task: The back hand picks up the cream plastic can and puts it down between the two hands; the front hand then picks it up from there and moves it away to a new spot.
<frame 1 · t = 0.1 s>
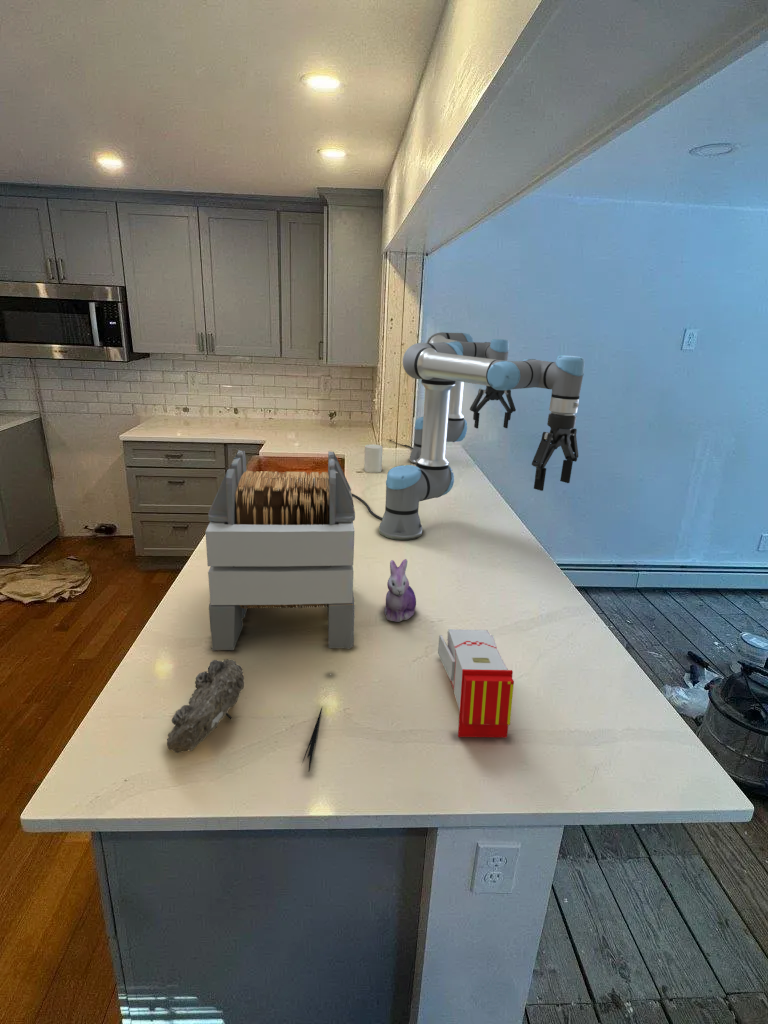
front hand: (551, 485, 166), 28 cm above the counter, tool pointing down, fingers open, 13 cm apart
back hand: (490, 427, 245), 28 cm above the counter, tool pointing down, fingers open, 13 cm apart
can: (372, 470, 276), on the counter
figurine: (399, 614, 147), on the counter
toy: (469, 691, 119), on the counter
feather: (319, 719, 109), on the counter
record crate: (286, 614, 145), on the counter
fossil: (212, 717, 108), on the counter
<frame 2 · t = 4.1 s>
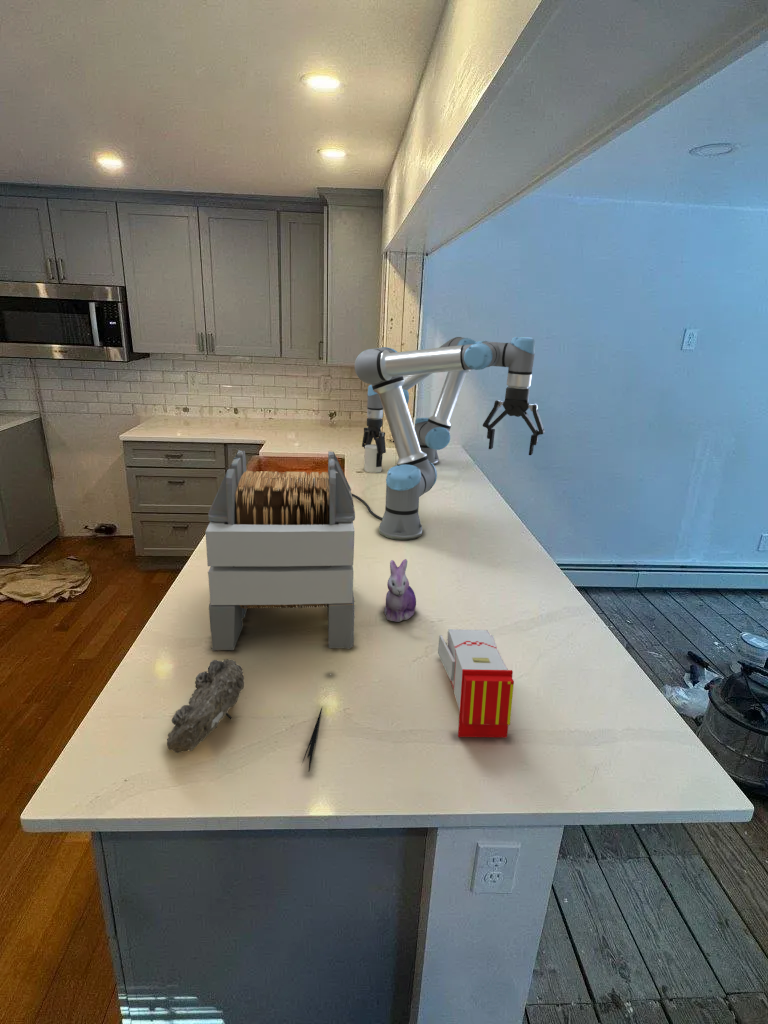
front hand: (510, 451, 190), 31 cm above the counter, tool pointing down, fingers open, 13 cm apart
back hand: (373, 464, 275), 3 cm above the counter, tool pointing down, fingers closed on can, 9 cm apart
can: (372, 470, 276), on the counter, touching back hand
everything else where it was.
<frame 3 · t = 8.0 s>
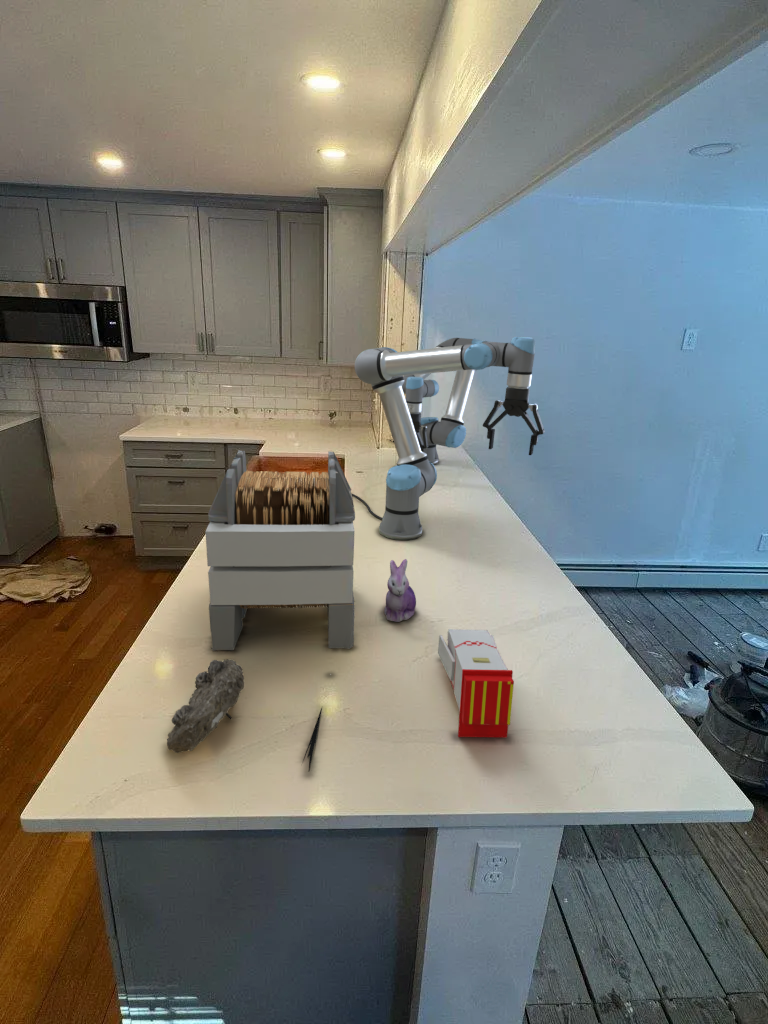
front hand: (510, 451, 190), 31 cm above the counter, tool pointing down, fingers open, 13 cm apart
back hand: (409, 461, 262), 9 cm above the counter, tool pointing down, fingers closed on can, 9 cm apart
can: (409, 467, 263), point 6 cm above the counter, touching back hand
everything else where it was.
when the back hand's fingers open (5 cm above the counter, at t = 11.9 s): can drops 2 cm, on the counter.
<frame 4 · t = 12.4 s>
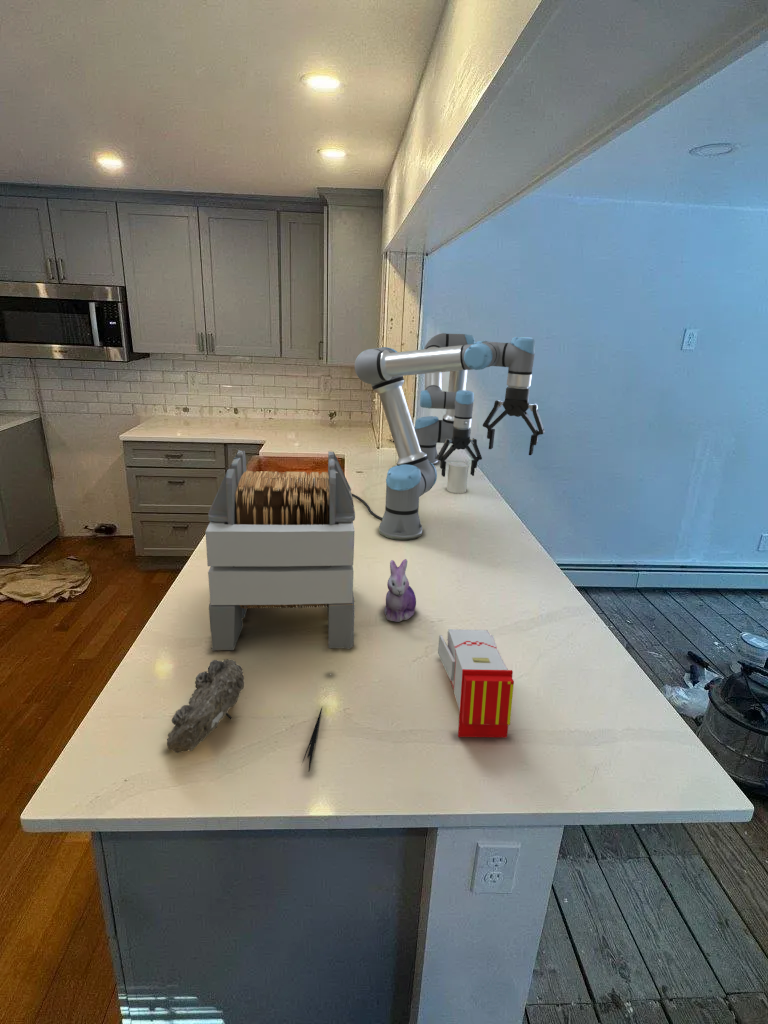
front hand: (510, 451, 190), 31 cm above the counter, tool pointing down, fingers open, 13 cm apart
back hand: (457, 475, 249), 7 cm above the counter, tool pointing down, fingers open, 13 cm apart
can: (456, 490, 251), on the counter
everything else where it was.
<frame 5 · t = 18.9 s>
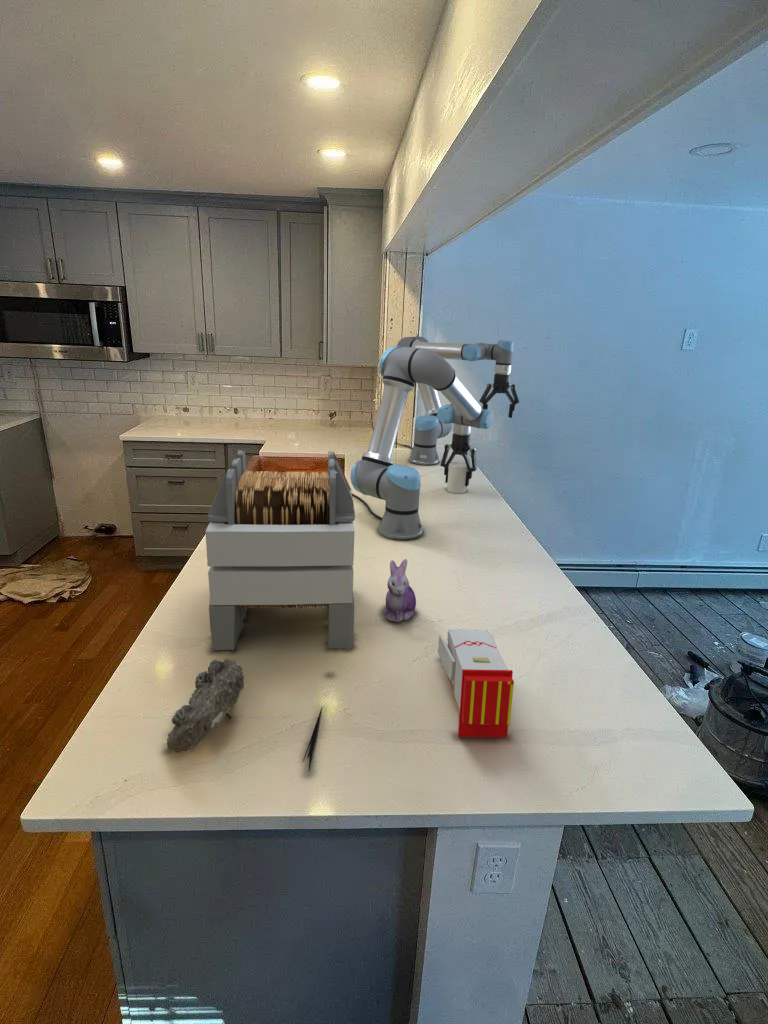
front hand: (456, 483, 250), 3 cm above the counter, tool pointing down, fingers closed on can, 9 cm apart
back hand: (497, 417, 282), 26 cm above the counter, tool pointing down, fingers open, 13 cm apart
can: (456, 490, 251), on the counter, touching front hand
everything else where it was.
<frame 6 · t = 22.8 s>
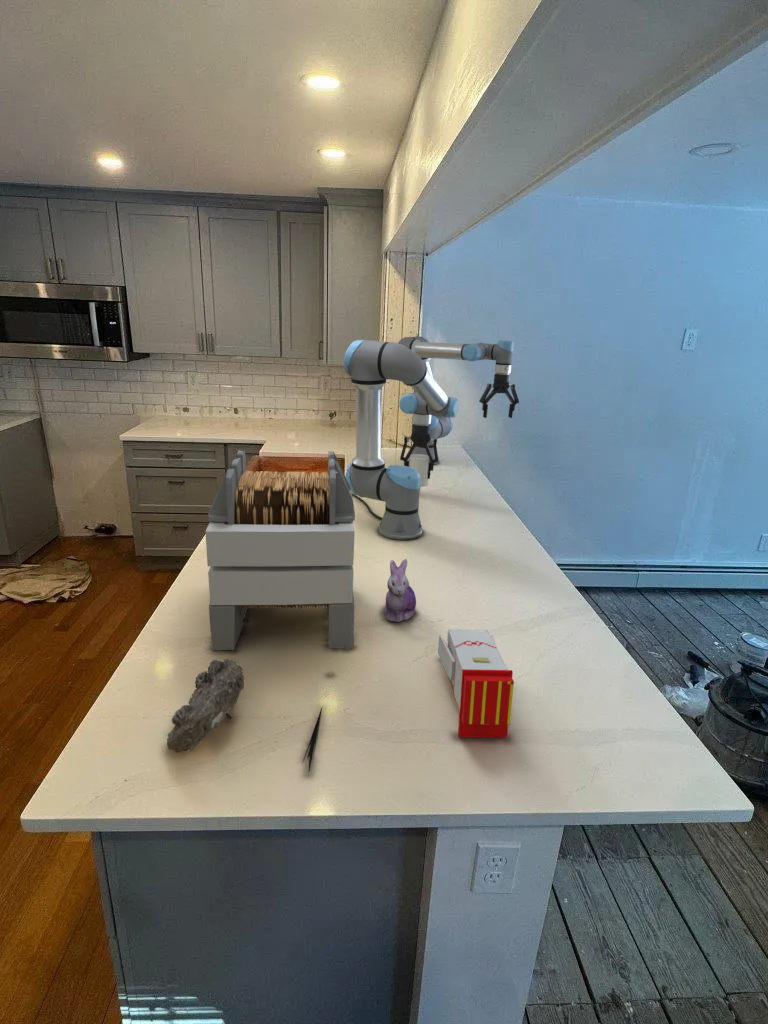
front hand: (417, 477, 239), 8 cm above the counter, tool pointing down, fingers closed on can, 9 cm apart
back hand: (497, 417, 282), 26 cm above the counter, tool pointing down, fingers open, 13 cm apart
can: (417, 483, 240), point 5 cm above the counter, touching front hand
everything else where it was.
when the front hand's fingers open (5 cm above the counter, at t = 26.7 s): can drops 2 cm, on the counter.
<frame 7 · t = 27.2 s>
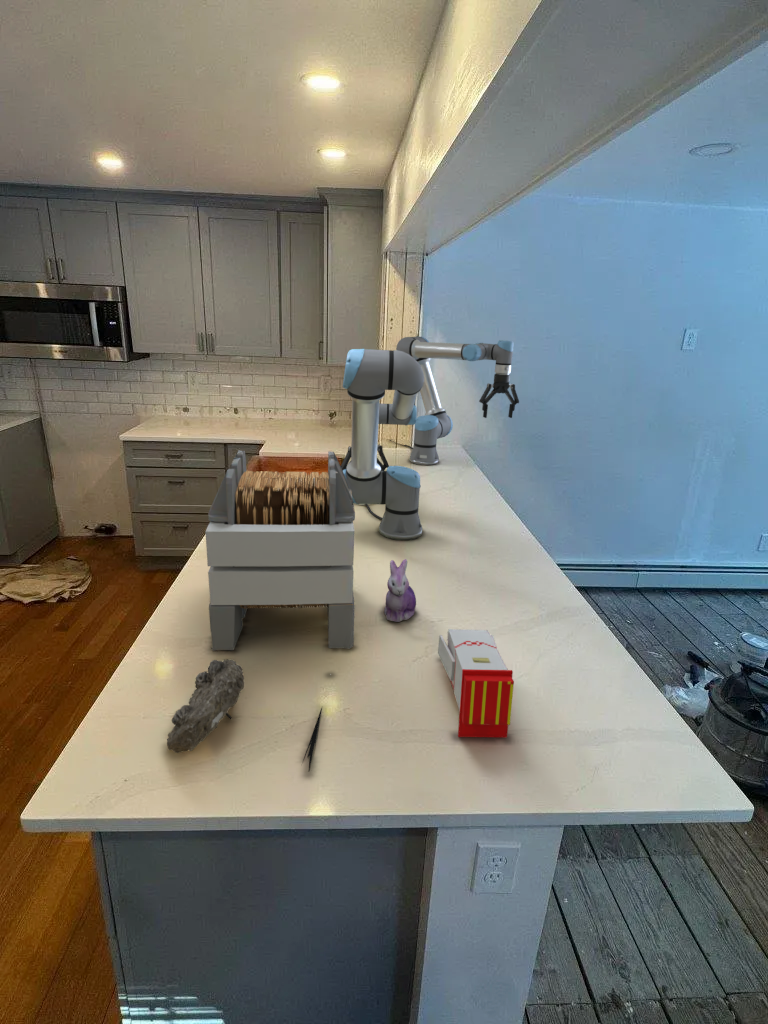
front hand: (364, 486, 228), 7 cm above the counter, tool pointing down, fingers open, 13 cm apart
back hand: (497, 417, 282), 26 cm above the counter, tool pointing down, fingers open, 13 cm apart
can: (363, 501, 231), on the counter
everything else where it was.
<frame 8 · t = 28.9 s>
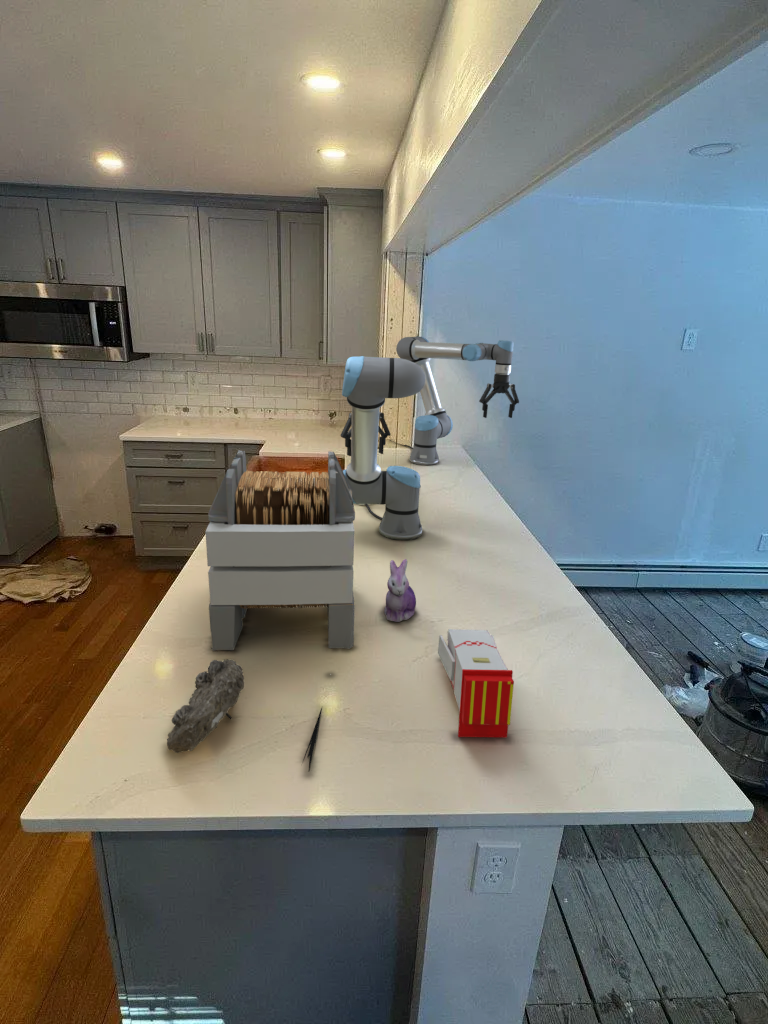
front hand: (365, 454, 224), 20 cm above the counter, tool pointing down, fingers open, 13 cm apart
back hand: (497, 417, 282), 26 cm above the counter, tool pointing down, fingers open, 13 cm apart
nothing on the counter moved.
at the end: can inside the target area (0.0 cm from its centre), on the counter; can tilted 0°; the two hands never held the can at the same time; the front hand is holding nothing; the back hand is holding nothing; can at rest at the end (0.0 cm/s) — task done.
